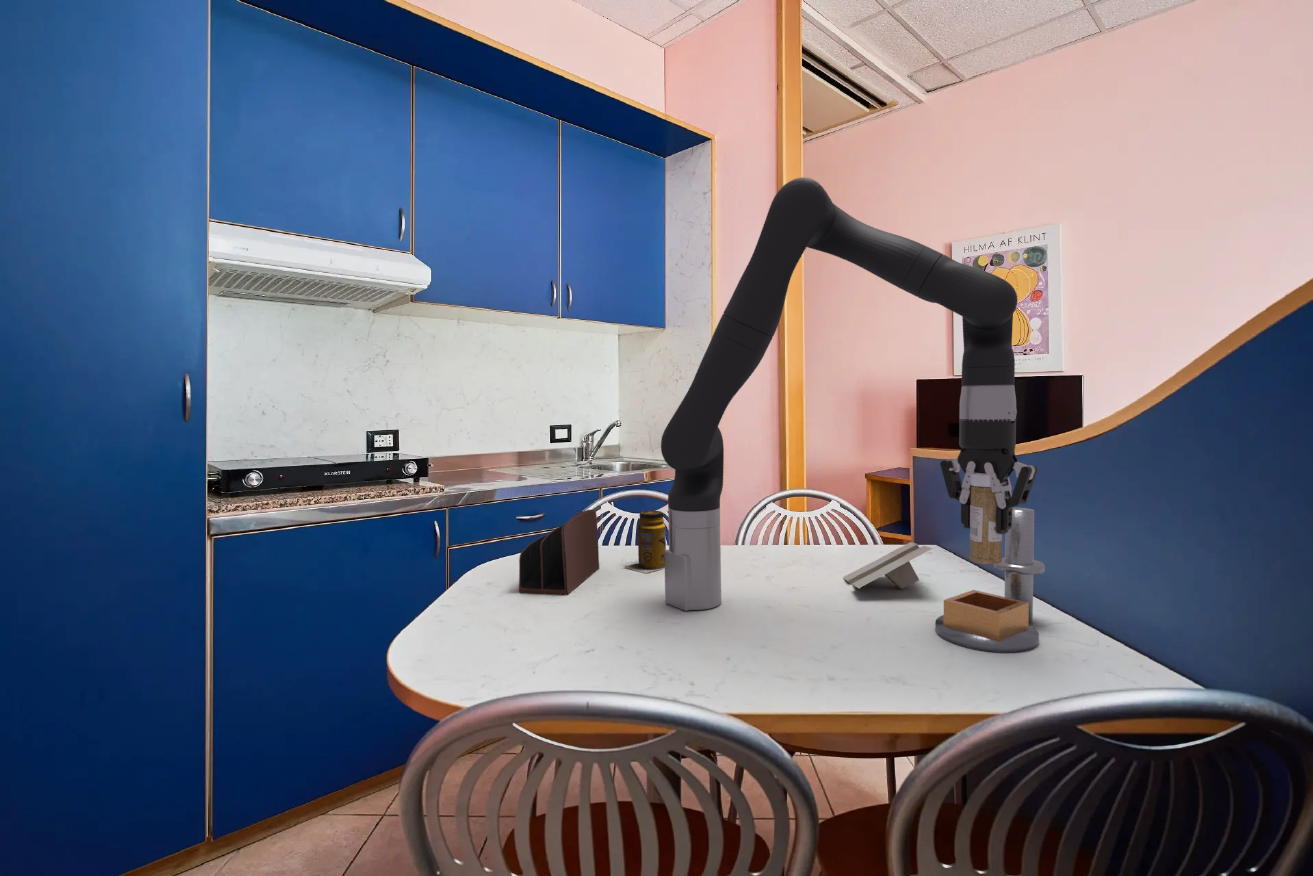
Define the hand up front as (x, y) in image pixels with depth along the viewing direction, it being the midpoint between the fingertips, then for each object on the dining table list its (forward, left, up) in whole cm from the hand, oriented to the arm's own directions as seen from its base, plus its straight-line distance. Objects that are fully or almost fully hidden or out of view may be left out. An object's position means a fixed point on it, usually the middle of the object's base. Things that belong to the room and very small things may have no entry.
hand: (985, 529), depth 100 cm
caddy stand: (+3, 0, -16) cm, 16 cm away
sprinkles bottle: (0, 0, -5) cm, 5 cm away
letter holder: (-36, +69, -16) cm, 79 cm away
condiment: (-16, +66, -16) cm, 70 cm away
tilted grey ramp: (+9, +24, -16) cm, 31 cm away
